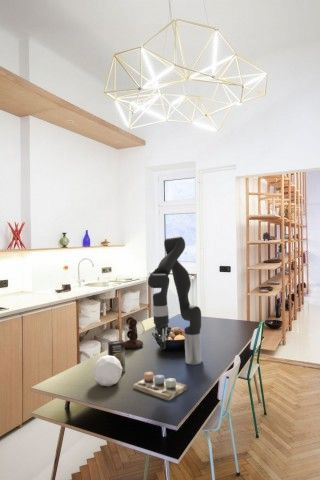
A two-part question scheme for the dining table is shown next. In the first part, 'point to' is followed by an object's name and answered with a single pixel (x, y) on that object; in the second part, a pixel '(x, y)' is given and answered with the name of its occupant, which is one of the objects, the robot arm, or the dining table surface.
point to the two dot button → (148, 376)
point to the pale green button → (170, 382)
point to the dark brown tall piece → (132, 335)
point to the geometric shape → (107, 370)
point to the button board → (159, 389)
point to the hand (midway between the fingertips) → (163, 348)
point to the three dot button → (159, 379)
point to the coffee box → (117, 351)
